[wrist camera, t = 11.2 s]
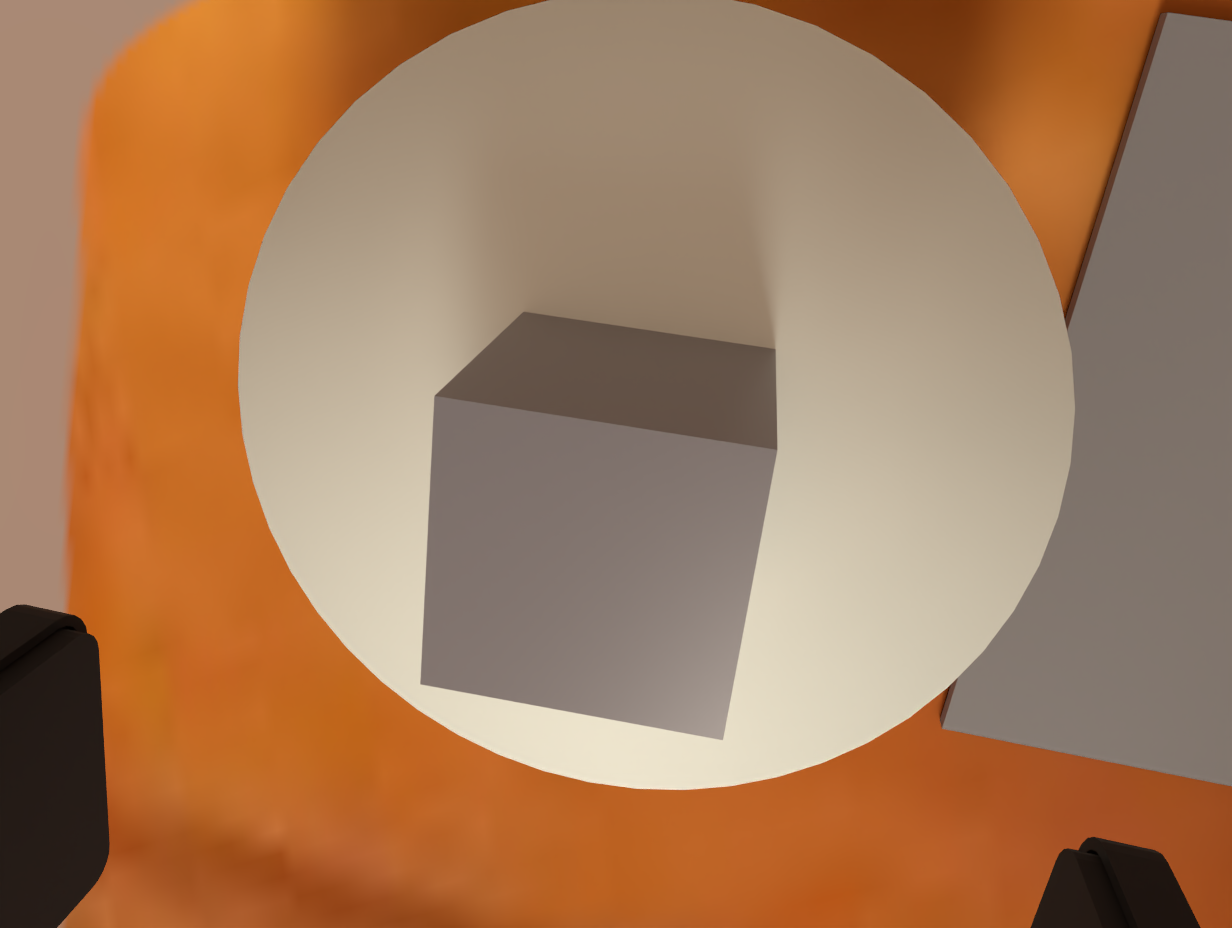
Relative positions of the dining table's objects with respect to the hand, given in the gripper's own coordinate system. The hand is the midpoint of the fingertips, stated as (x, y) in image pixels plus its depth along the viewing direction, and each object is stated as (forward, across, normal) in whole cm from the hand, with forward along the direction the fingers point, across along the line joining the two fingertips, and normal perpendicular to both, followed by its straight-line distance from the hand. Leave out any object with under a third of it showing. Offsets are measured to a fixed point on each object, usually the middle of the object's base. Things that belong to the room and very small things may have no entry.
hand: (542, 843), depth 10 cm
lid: (+10, +1, -1) cm, 10 cm away
